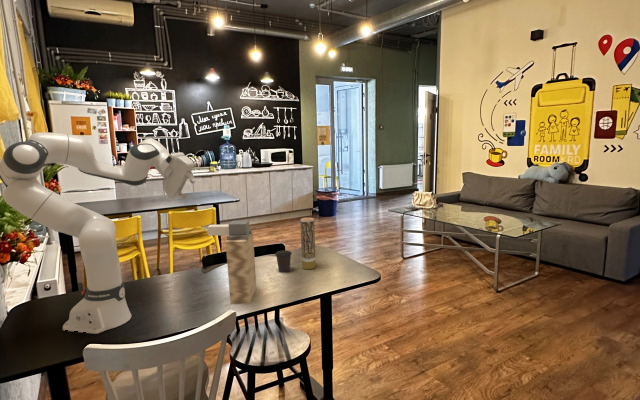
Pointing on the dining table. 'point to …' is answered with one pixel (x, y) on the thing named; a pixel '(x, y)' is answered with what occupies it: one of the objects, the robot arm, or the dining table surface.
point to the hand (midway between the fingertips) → (190, 190)
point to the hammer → (230, 229)
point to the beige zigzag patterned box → (241, 268)
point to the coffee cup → (283, 260)
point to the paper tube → (308, 243)
